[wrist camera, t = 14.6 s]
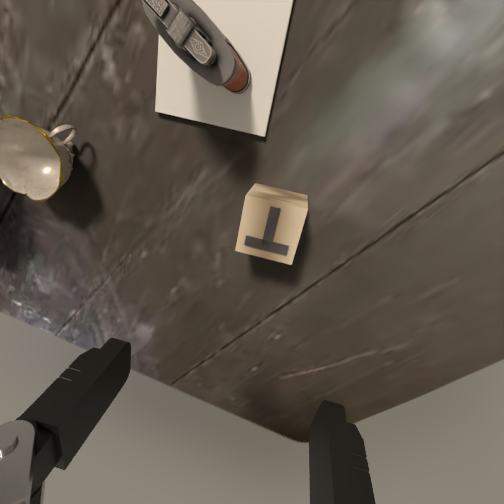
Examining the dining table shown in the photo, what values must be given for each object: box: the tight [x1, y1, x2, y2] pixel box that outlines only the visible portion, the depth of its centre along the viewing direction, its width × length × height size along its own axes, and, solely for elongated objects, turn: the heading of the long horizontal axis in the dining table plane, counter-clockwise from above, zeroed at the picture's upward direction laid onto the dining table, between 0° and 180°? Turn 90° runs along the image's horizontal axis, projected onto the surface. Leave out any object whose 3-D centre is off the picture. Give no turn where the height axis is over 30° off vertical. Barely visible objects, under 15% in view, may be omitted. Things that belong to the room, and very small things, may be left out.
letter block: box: [235, 183, 308, 265], centre depth 30 cm, size 6×6×6 cm
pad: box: [155, 0, 294, 137], centre depth 27 cm, size 12×12×1 cm
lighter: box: [142, 0, 251, 94], centre depth 23 cm, size 8×3×10 cm, turn 46°
